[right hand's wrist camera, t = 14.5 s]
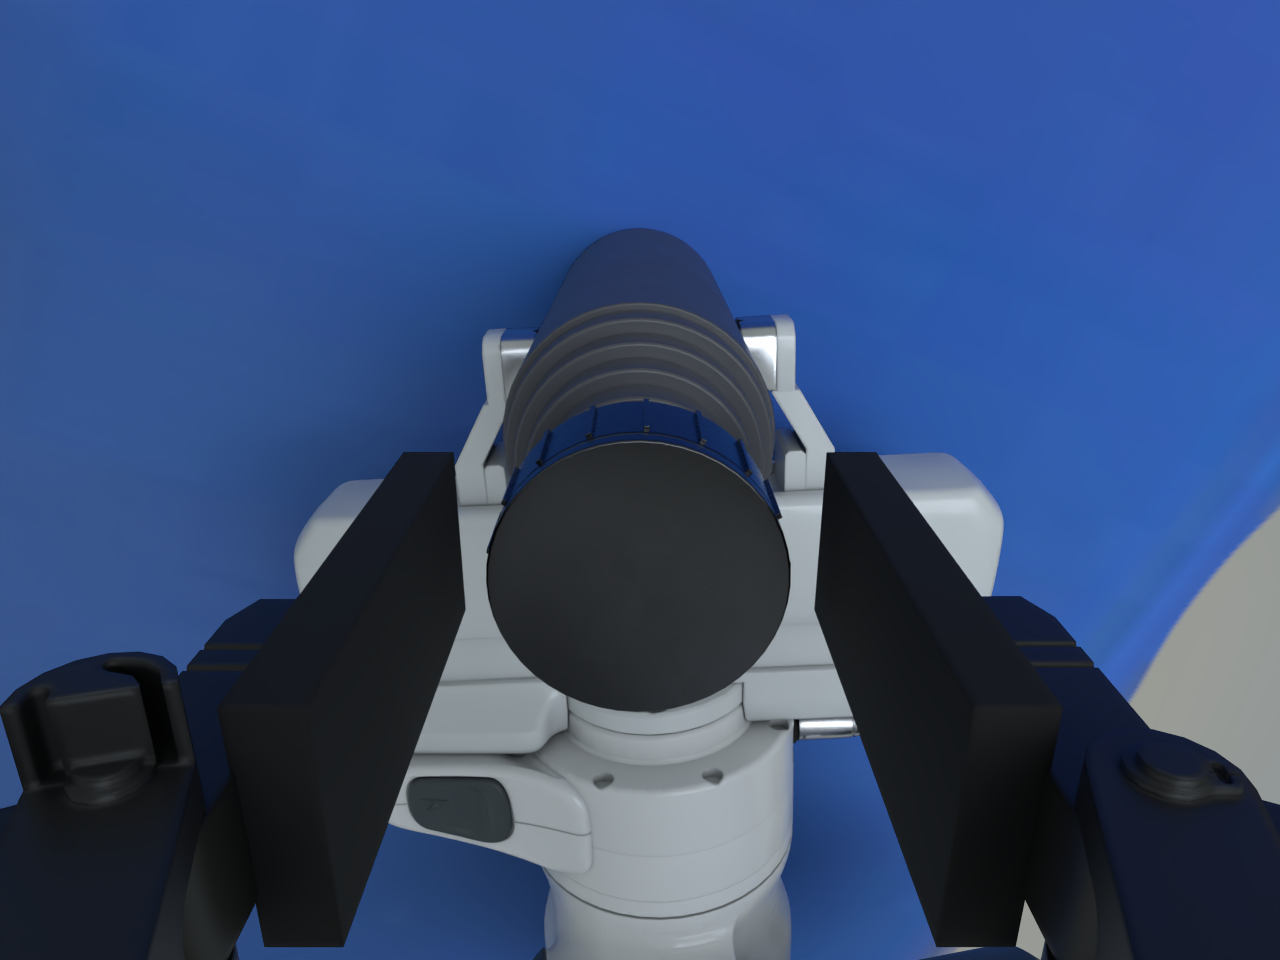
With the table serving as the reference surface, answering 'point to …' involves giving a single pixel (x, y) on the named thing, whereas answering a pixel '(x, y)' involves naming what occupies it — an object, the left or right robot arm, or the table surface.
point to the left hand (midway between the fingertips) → (635, 324)
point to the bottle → (639, 347)
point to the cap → (638, 558)
